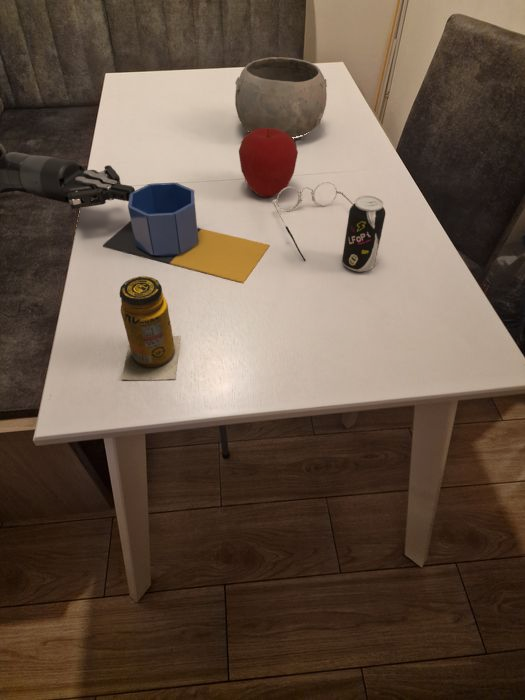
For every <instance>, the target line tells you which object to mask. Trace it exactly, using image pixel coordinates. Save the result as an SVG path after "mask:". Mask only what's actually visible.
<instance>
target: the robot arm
mask: <svg viewBox="0 0 525 700" xmlns="http://www.w3.org/2000/svg"><path fill="white" fill-rule="evenodd" d="M134 191H136V190H135V187H134V186H132V185H127V184H124V183H123V184H122V183H121V178H120V175H119V174H118V173H117V172H116V171H115V169H114V168H113V167H112V166H111V165H105V166H104V169H103V170H101V171H97V170H96V169H85V167H83V166H82V165H81V164H80V163H78V162H77V161H75V160H71V159H65V158H58V157H53V156H49V155H34V154H29V153H25V152H17V151H11V152H9V151H8V150H7V147H6V146H5V145H3V144H2V143H1V142H0V194H3V193H12V192H20V193H26V194H30V195H33V196H36V197H40V198H42V199H47V200H52V201H58V202H62V203H66V204H69V205H70V207H71V209H73V210H75V209H76V210H77V209H83V208H88V207H96V206H102V205H105V204H107V202H106V201H113V200H119V201H123V202H129V196H130V194H131V193H132V192H134Z"/></svg>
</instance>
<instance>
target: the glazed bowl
mask: <svg viewBox="0 0 525 700" xmlns="http://www.w3.org/2000/svg"><path fill="white" fill-rule="evenodd" d="M127 202H128V203H127V209H128V214H129V219H130V221H131V224H132V229H133V234H134V238H135V243H136V246H137V247H139V248H141V249H142V250H143V251H144V252H146V253H148V254H151V255H154V256H160V257H169V256H176V255H179V254H182V253H185V252H187V251H189V250H190V249H191V248H192V247H193V246H194V245H195V244H197V243H198V242H199V240H198V228H199V224H198V214H197V203H196V195H195V190H194V189H192V188H190V187H187V186H185V185H183V184H180V183H178V182H157V183H156V182H155V183H148V184H146V185H144V186H142V187H140V188H138V189H136V190H135V191H134V192H132V193H131V194H130V196H129V201H127Z"/></svg>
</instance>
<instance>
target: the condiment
mask: <svg viewBox="0 0 525 700" xmlns="http://www.w3.org/2000/svg"><path fill="white" fill-rule="evenodd" d="M119 298H120V303H121V305H120V314H121V318H122V321H123V325H124V329H125V333H126V337H127V342H128V348H127V353H126V356H125V360H124V364H123V368H122V369H123V370H122V374H121V378H120V380H127V381H158V380H176V376H177V368H178V361H179V351H180V343H181V335H173V330H172V329H173V328H172V324H171V319H170V318H171V317H170V312H169V306H168V302H167V299H166V298H165V296H164V292H163V287H162V285H161V284H160V282H159V280H158V279H156V278H154V277H151V276H147V275H146V276H144V275H143V276H140V275H139V276H136V277H132V278H130V279H128V280H126V281H125V282H123V283H122V285H121V286H120V288H119Z"/></svg>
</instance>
